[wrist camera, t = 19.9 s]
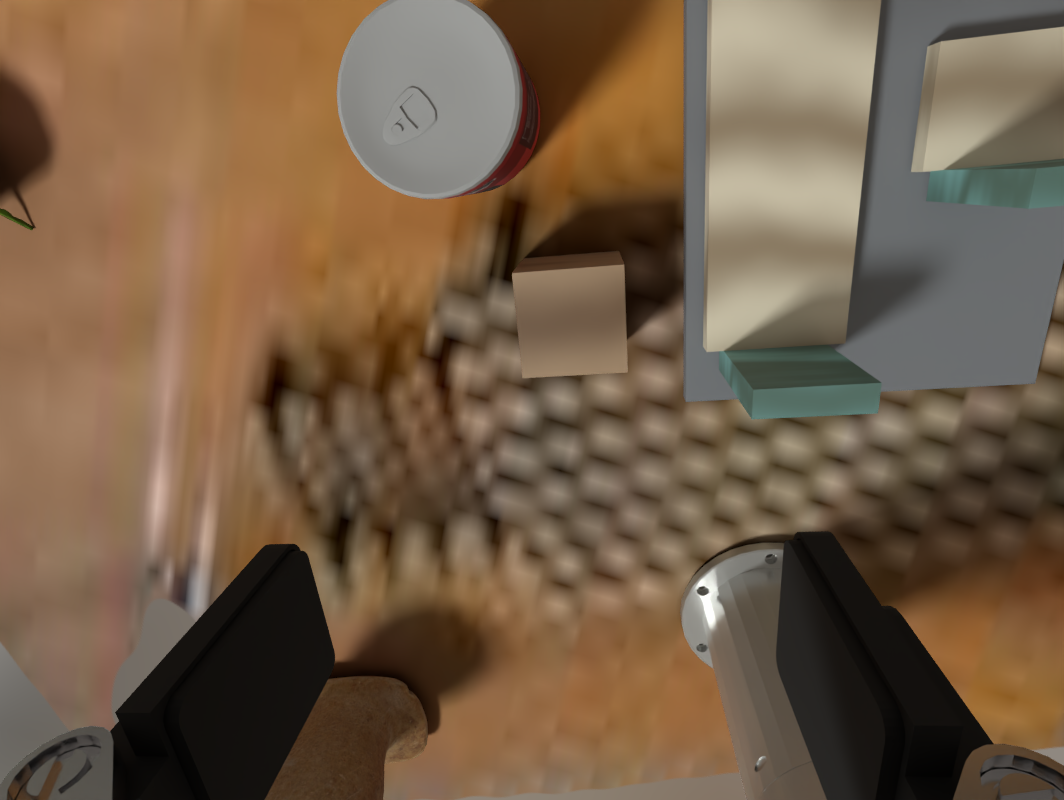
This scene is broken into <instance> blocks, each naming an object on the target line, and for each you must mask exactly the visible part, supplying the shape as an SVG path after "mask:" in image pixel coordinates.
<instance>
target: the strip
mask: <svg viewBox="0 0 1064 800" xmlns="http://www.w3.org/2000/svg"><path fill="white" fill-rule="evenodd" d="M880 7H881V0H708V5H707V82H706V160H705V237H704V314H703V347H704V349H705V350H706V352H715V351H719V371H720V372H721V374H722V375H723V377H724V378H725V380H726V381H727V383H728V384H729V386H730V387H731V389H732V390H733V392H734V393H735V395H736V396H737V398H738V399H739V401H740V402H741V404H742V405H743V407H744V408H745V410H746V411H747V413H748V414H749V416H750V417H751V419H768V418H789V417H810V416H830V415H851V414H872V413H878V408H879V400H880V393H881V385H882V383H881V382H880V381H879V380H877V379H876V378H874V377H873V376H871V375H870V374H869V373H867V372H866V371H864V370H863V369H862V368H860V367H859V366H857V365H856V364H854V363H853V362H852V361H850V360H849V359H847V358H846V357H845V356H843V355H842V354H840V353H839V352H837V351H836V350H835V349H833V348H832V347H830V346H829V345H828V344H844V343H845V342H846V332H847V323H848V313H849V303H850V294H851V284H852V275H853V265H854V256H855V246H856V237H857V227H858V217H859V208H860V198H861V189H862V179H863V170H864V160H865V150H866V141H867V131H868V122H869V112H870V103H871V93H872V84H873V74H874V64H875V55H876V45H877V36H878V26H879V17H880Z"/></svg>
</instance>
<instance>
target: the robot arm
mask: <svg viewBox="0 0 1064 800" xmlns="http://www.w3.org/2000/svg"><path fill="white" fill-rule="evenodd" d="M680 614H681V622H682V627H683V631H684V635H685V638H686V640H687V642H688V644H689V646H690V648H691V649H692V650H693V651H694V653H695V654H696V655H697V656H698V657H699V658H700V659H701V660H702V661H703V662H705V663H706V664H707V665H708V666H710V667H712V668H713V669H714V672H715V676H716V680H717V684H718V688H719V692H720V696H721V700H722V704H723V708H724V712H725V716H726V720H727V724H728V728H729V732H730V736H731V740H732V744H733V748H734V752H735V756H736V760H737V763H738V767H739V771H740V775H741V779H742V783H743V787H744V791H745V795H746V799H747V800H1064V766H1063V765H1062V764H1060V763H1058V762H1056V761H1054V760H1053V759H1051V758H1049V757H1047V756H1045V755H1042V754H1039V753H1037V752H1034V751H1032V750H1029V749H1027V748H1023V747H1018V746H1013V745H1007V744H993V743H992V741H991V740H990V738H989V737H988V735H987V734H986V733H985V731H984V730H983V728H982V727H981V726H980V724H979V723H978V721H977V720H976V719H975V717H974V716H973V714H972V713H971V712H970V710H969V709H968V707H967V706H966V705H965V703H964V702H963V700H962V699H961V698H960V696H959V695H958V693H957V692H956V691H955V689H954V688H953V686H952V685H951V684H950V682H949V681H948V679H947V678H946V677H945V675H944V674H943V672H942V671H941V670H940V668H939V667H938V665H937V664H936V663H935V661H934V660H933V658H932V657H931V656H930V654H929V653H928V651H927V650H926V648H925V647H924V646H923V644H922V643H921V641H920V640H919V639H918V637H917V636H916V634H915V633H914V632H913V630H912V629H911V627H910V626H909V625H908V623H907V622H906V620H905V619H904V618H903V616H902V615H901V614H900V613H899V612H898V611H897V609H895V608H893V607H891V606H881V604H880V603H879V601H878V600H877V598H876V597H875V595H874V594H873V593H872V591H871V590H870V588H869V587H868V585H867V584H866V582H865V581H864V579H863V578H862V576H861V575H860V573H859V572H858V571H857V569H856V568H855V566H854V565H853V563H852V562H851V560H850V559H849V557H848V556H847V554H846V553H845V551H844V550H843V548H842V547H841V546H840V544H839V543H838V541H837V540H836V538H835V537H834V535H833V534H832V533H831V532H828V531H827V532H797V533H796V534H795V536H794V540H787V541H785V543H757V544H750V545H745V546H742V547H738V548H735V549H732V550H729V551H727V552H725V553H723V554H721V555H719V556H717V557H715V558H714V559H712V560H711V561H710V562H708V563H707V564H705V565H704V566H703V567H702V568H701V569H700V570H699V571H698V572H697V573H696V574H695V575H694V576H693V578H692V579H691V581H690V582H689V584H688V585H687V587H686V589H685V592H684V595H683V597H682V601H681V610H680ZM334 662H335V653H334V649H333V645H332V641H331V638H330V634H329V630H328V627H327V623H326V620H325V616H324V612H323V609H322V605H321V601H320V598H319V594H318V591H317V587H316V583H315V580H314V576H313V572H312V569H311V565H310V562H309V558H308V555H307V554H306V552H304V551H301V550H300V548H299V547H298V546H297V545H295V544H269V545H265V546H264V547H263V548H262V549H261V550H260V551H259V552H258V553H257V554H256V556H255V557H254V558H253V559H252V560H251V561H250V562H249V563H248V565H247V566H246V567H245V568H244V569H243V570H242V571H241V572H240V573H239V575H238V576H237V577H236V578H235V579H234V580H233V581H232V582H231V584H230V585H229V586H228V587H227V588H226V589H225V590H224V591H223V593H222V594H221V595H220V596H219V597H218V598H217V599H216V600H215V601H214V603H213V604H212V605H211V606H210V607H209V608H208V609H207V610H206V612H205V613H204V614H203V615H202V616H201V617H200V618H199V619H198V621H197V622H196V623H195V624H194V625H193V626H192V627H191V628H190V629H189V631H188V632H187V633H186V634H185V635H184V636H183V637H182V638H181V640H180V641H179V642H178V643H177V644H176V645H175V646H174V647H173V648H172V650H171V651H170V652H169V653H168V654H167V655H166V656H165V658H164V659H163V660H162V661H161V662H160V663H159V664H158V665H157V667H156V668H155V669H154V670H153V671H152V672H151V673H150V674H149V675H148V676H147V678H146V679H145V680H144V681H143V682H142V683H141V684H140V686H139V687H138V688H137V689H136V690H135V691H134V692H133V693H132V694H131V696H130V697H129V698H128V699H127V700H126V701H125V702H124V703H123V704H122V706H121V707H120V708H119V709H118V710H117V711H116V712H115V713H116V715H117V717H118V719H119V722H118V723H117V724H116V725H115V726H114V728H113V729H112V730H111V731H110V732H109V731H108V730H107V729H105V728H104V727H96V726H89V727H83V728H78V729H75V730H72V731H69V732H67V733H64V734H61V735H59V736H57V737H55V738H54V739H52V740H50V741H48V742H46V743H44V744H42V745H41V746H40V747H38V748H37V749H36V750H34V751H33V752H31V753H30V754H29V755H27V756H26V757H25V758H23V760H22V761H20V762H19V763H18V764H17V765H16V766H15V767H14V768H13V769H12V770H11V771H10V772H9V773H8V774H7V776H6V777H5V778H4V780H3V781H2V783H1V784H0V800H265V798H266V796H267V794H268V792H269V791H270V789H271V787H272V785H273V783H274V781H275V779H276V777H277V775H278V773H279V772H280V770H281V768H282V766H283V764H284V762H285V760H286V758H287V756H288V755H289V753H290V751H291V749H292V747H293V745H294V743H295V741H296V739H297V737H298V736H299V734H300V732H301V730H302V728H303V726H304V724H305V722H306V720H307V718H308V717H309V715H310V713H311V711H312V709H313V707H314V705H315V703H316V701H317V699H318V698H319V696H320V694H321V692H322V690H323V688H324V686H325V684H326V682H327V680H328V679H329V677H330V675H331V673H332V670H333V667H334Z"/></svg>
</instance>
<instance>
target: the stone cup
mask: <svg viewBox="0 0 1064 800" xmlns="http://www.w3.org/2000/svg"><path fill="white" fill-rule="evenodd" d="M427 737H428V723H427V718H426V715H425V712H424V710H423V707H422V704H421V702H420V701H419V699H418V698H417V696H416V695H415V694H414V693H413V692H411V691H410V690H409V689H408V687H407V685H406V684H405V683H403V682H402V681H400V680H397V679H395V678H390V677H379V676H352V677H342V678H333V679H328V680H327V682H326V684H325V686H324V688H323V690H322V692H321V694H320V696H319V698H318V699H317V701H316V703H315V705H314V707H313V709H312V711H311V713H310V715H309V717H308V718H307V720H306V722H305V724H304V726H303V728H302V730H301V732H300V734H299V736H298V737H297V739H296V741H295V743H294V745H293V747H292V749H291V751H290V753H289V755H288V756H287V758H286V760H285V762H284V764H283V766H282V768H281V770H280V772H279V773H278V775H277V777H276V779H275V781H274V783H273V785H272V787H271V789H270V791H269V792H268V794H267V796H266V798H265V800H383V793H384V764H387V763H395V762H401V761H405V760H409V759H413V758H415V757H417V756H419V755H420V754H421V753H422V752H423V751H424V748H425V746H426V745H427Z"/></svg>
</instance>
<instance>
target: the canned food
mask: <svg viewBox="0 0 1064 800" xmlns="http://www.w3.org/2000/svg"><path fill="white" fill-rule="evenodd" d="M337 101H338V112H339V117H340V121H341V124H342V128H343V132H344V134H345V137H346V139H347V141H348V143H349V145H350V147H351V150H352V151H353V153H354V154H355V156H356V157H357V158H358V160H359V161H360V163H361V164H362V166H363V167H364V168H365V169H366V170H367V171H368V172H369V173H370V174H371V175H372V176H373V177H374V178H375V179H377V180H378V181H380V182H381V183H383V184H384V185H386V186H387V187H389V188H391V189H393V190H395V191H398V192H400V193H403V194H405V195H408V196H412V197H417V198H423V199H444V198H453V197H459V196H464V195H470V194H476V193H481V192H485V191H489V190H493V189H495V188H497V187H500V186H502V185H504V184H505V183H507V182H508V181H509V180H511V179H512V178H514V177H515V176H516V175H517V174H518V173H519V172H520V170H521V169H522V168H523V167H524V166H525V164H526V163H527V161H528V160H529V158H530V156H531V155H532V152H533V150H534V147H535V145H536V142H537V139H538V134H539V129H540V107H539V100H538V96H537V93H536V90H535V87H534V84H533V82H532V81H531V79H530V77H529V75H528V73H527V72H526V70H525V68H524V66H523V65H522V63H521V61H520V59H519V58H518V56H517V54H516V52H515V51H514V49H513V47H512V46H511V44H510V42H509V40H508V39H507V37H506V36H505V34H504V33H503V31H502V30H501V29H500V28H499V27H498V25H497V24H496V23H495V22H494V21H493V20H492V19H491V18H490V16H489V15H487V14H486V13H485V12H483V11H482V10H481V9H479V8H478V7H476V6H475V5H474V4H472V3H471V2H469V1H467V0H388V1H387V2H385V3H383V4H381V5H380V6H378V7H377V8H376V9H375V10H374V11H373V12H372V13H370V14H369V15H368V16H367V17H366V18H365V19H364V20H363V21H362V23H361V24H360V25H359V27H358V28H357V30H356V31H355V32H354V34H353V35H352V37H351V39H350V41H349V43H348V46H347V48H346V50H345V52H344V54H343V58H342V62H341V66H340V70H339V73H338V86H337Z"/></svg>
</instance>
